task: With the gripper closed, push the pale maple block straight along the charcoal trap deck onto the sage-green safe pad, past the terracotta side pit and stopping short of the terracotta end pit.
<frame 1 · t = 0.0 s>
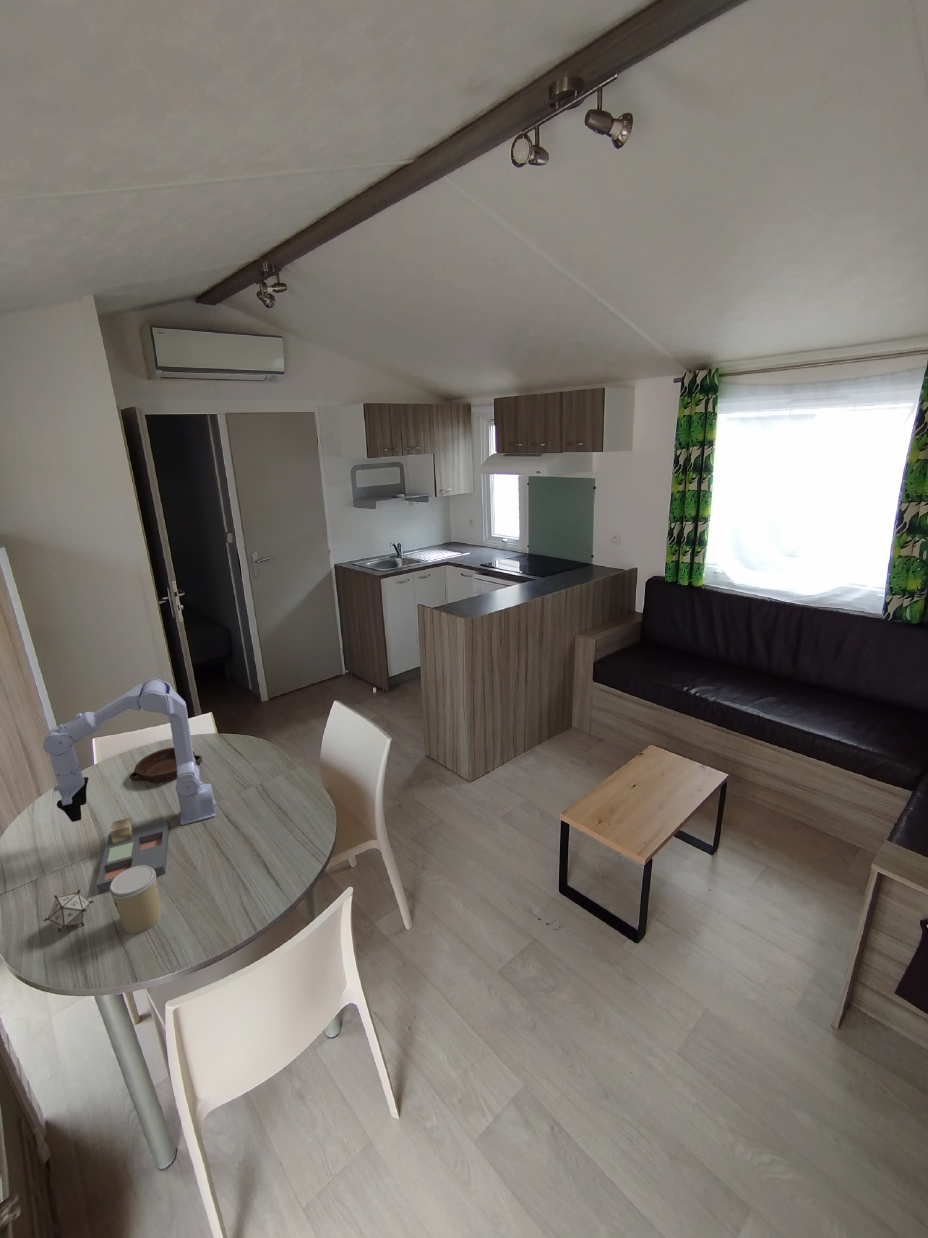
hand: (79, 812, 156), 10 cm above the table, tool pointing down, fingers open, 7 cm apart
game die: (73, 924, 132), on the table
trap deck: (136, 857, 153), on the table
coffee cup: (143, 920, 133), on the table
maple block: (123, 836, 157), point 2 cm above the table, touching trap deck
dish: (168, 773, 193), on the table
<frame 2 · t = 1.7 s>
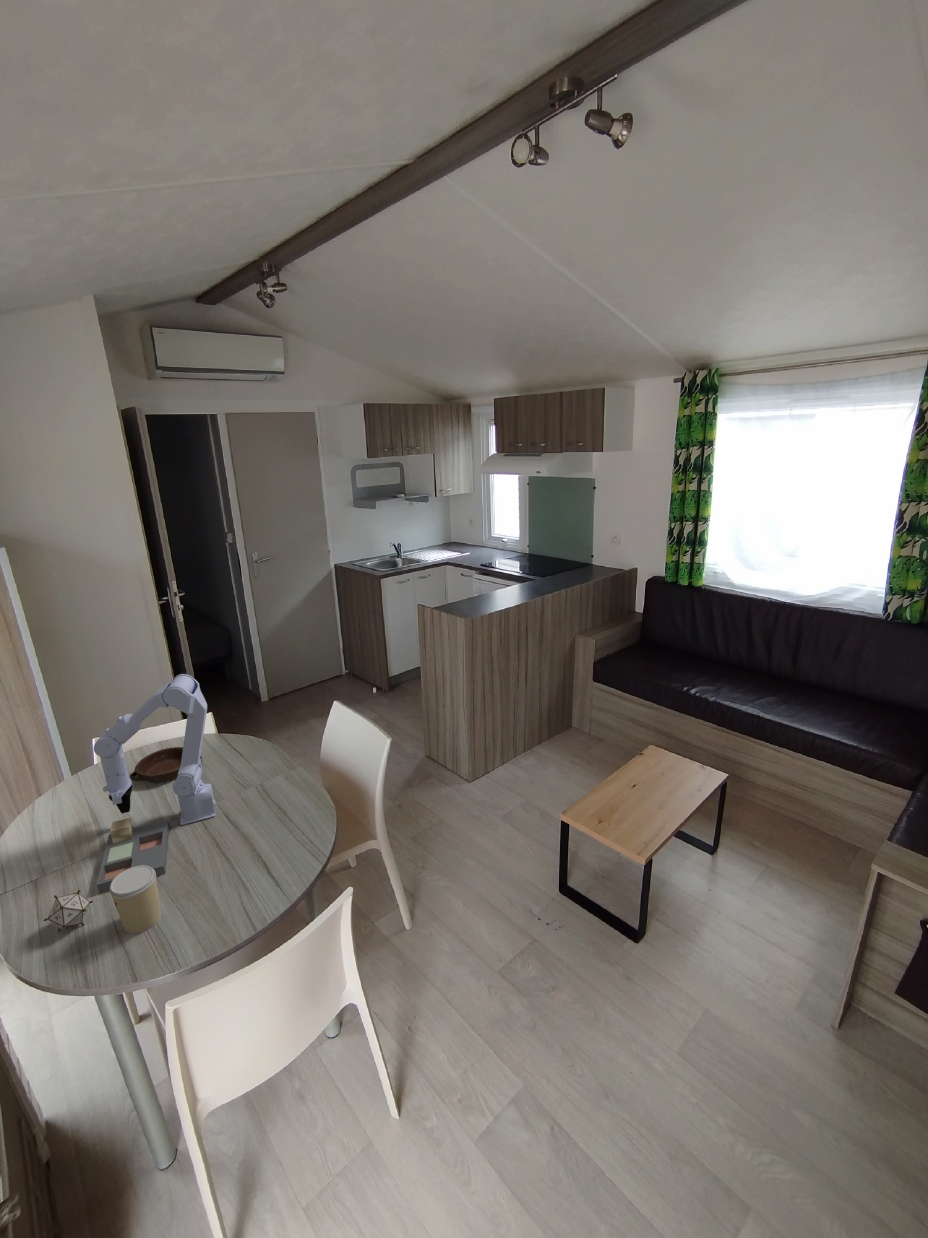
hand: (125, 811, 165), 4 cm above the table, tool pointing down, fingers closed
nothing on the table moved.
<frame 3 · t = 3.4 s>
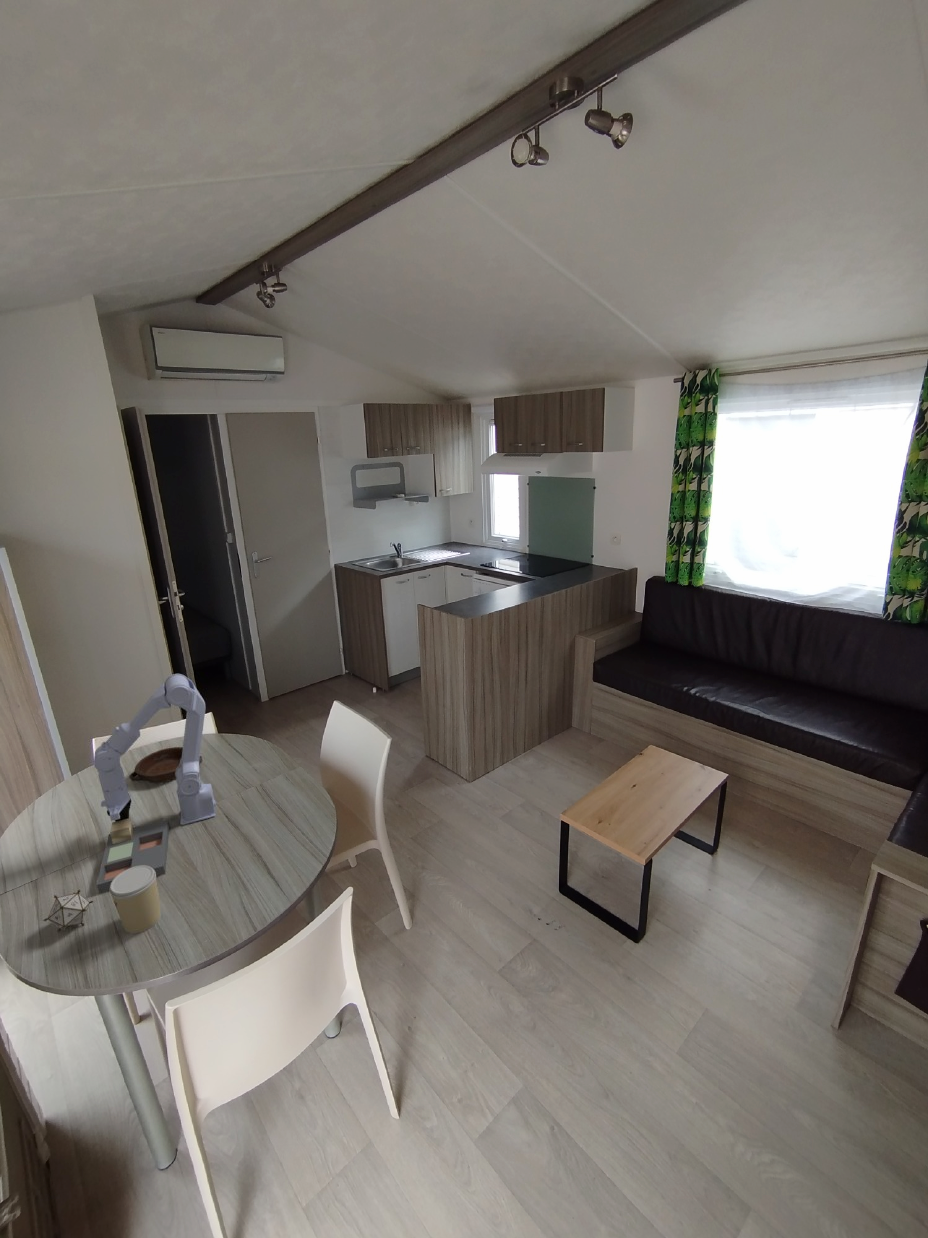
hand: (124, 826, 160), 3 cm above the table, tool pointing down, fingers closed
maple block: (123, 837, 157), point 3 cm above the table, touching gripper
everything else where it was.
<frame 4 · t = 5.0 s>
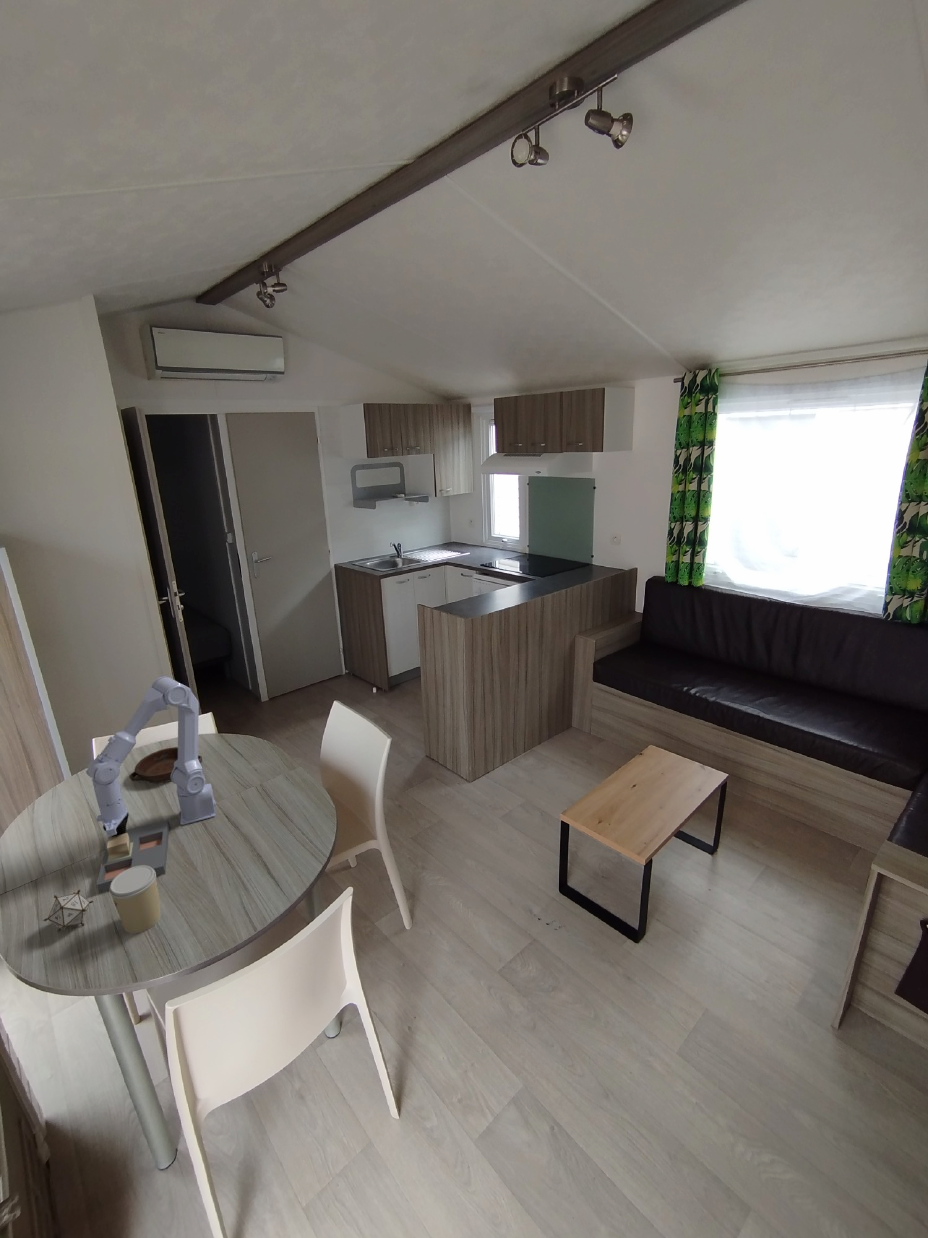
hand: (121, 842, 154), 3 cm above the table, tool pointing down, fingers closed
maple block: (120, 852, 151), point 3 cm above the table, touching gripper
everything else where it was.
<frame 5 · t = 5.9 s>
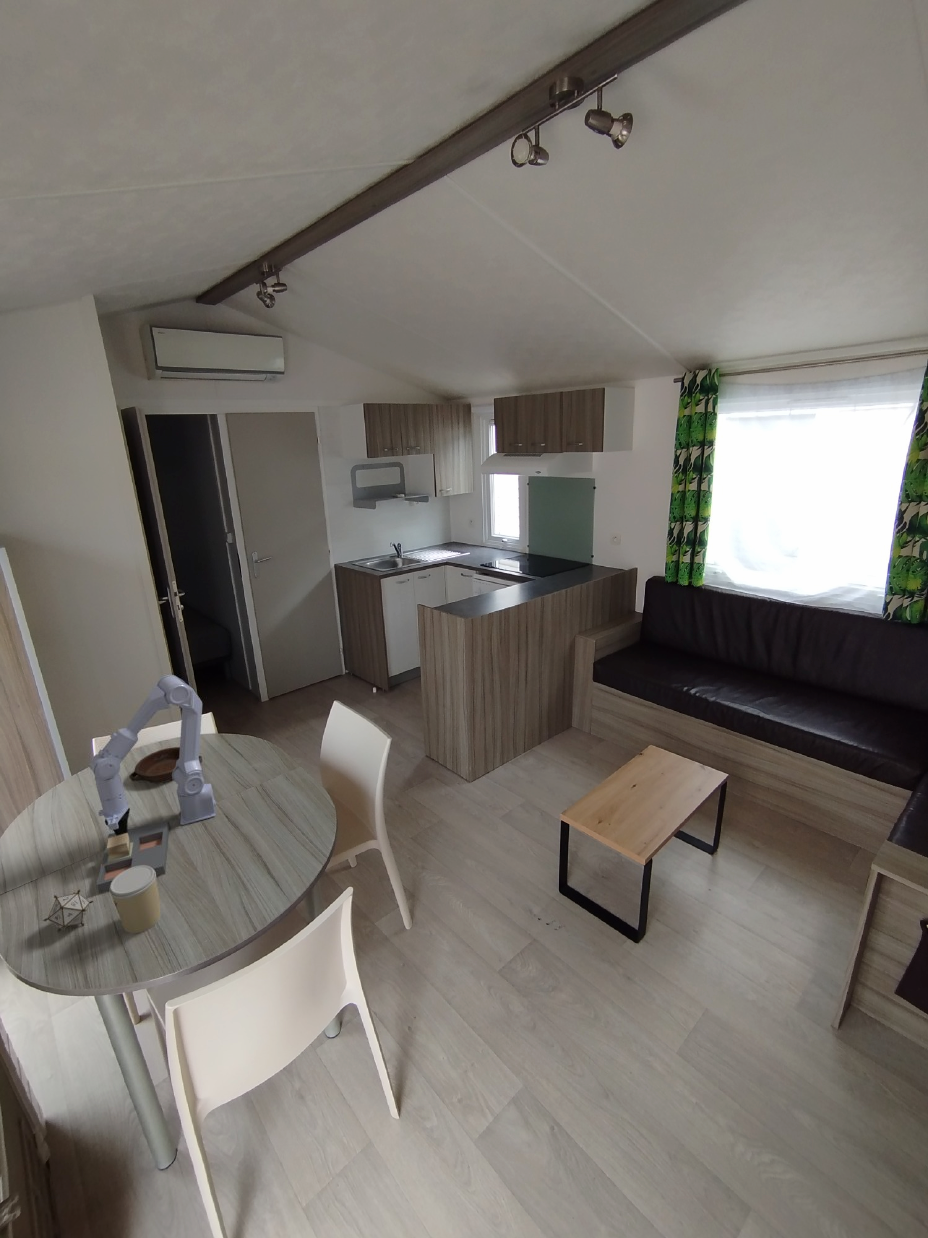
hand: (123, 836, 157), 3 cm above the table, tool pointing down, fingers closed
maple block: (120, 852, 151), point 3 cm above the table, touching trap deck
everything else where it was.
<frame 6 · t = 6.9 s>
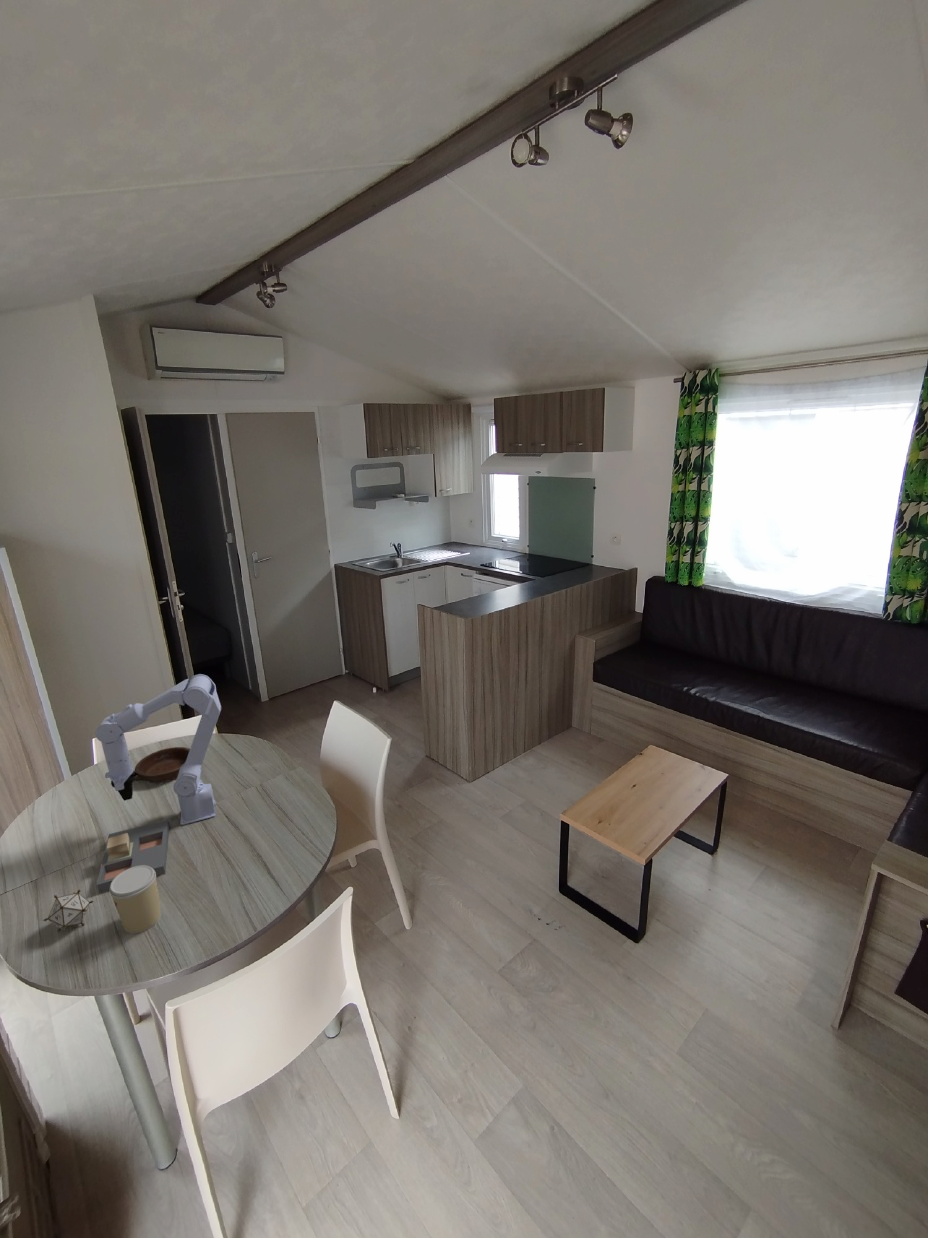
hand: (128, 798, 163), 9 cm above the table, tool pointing down, fingers closed
nothing on the table moved.
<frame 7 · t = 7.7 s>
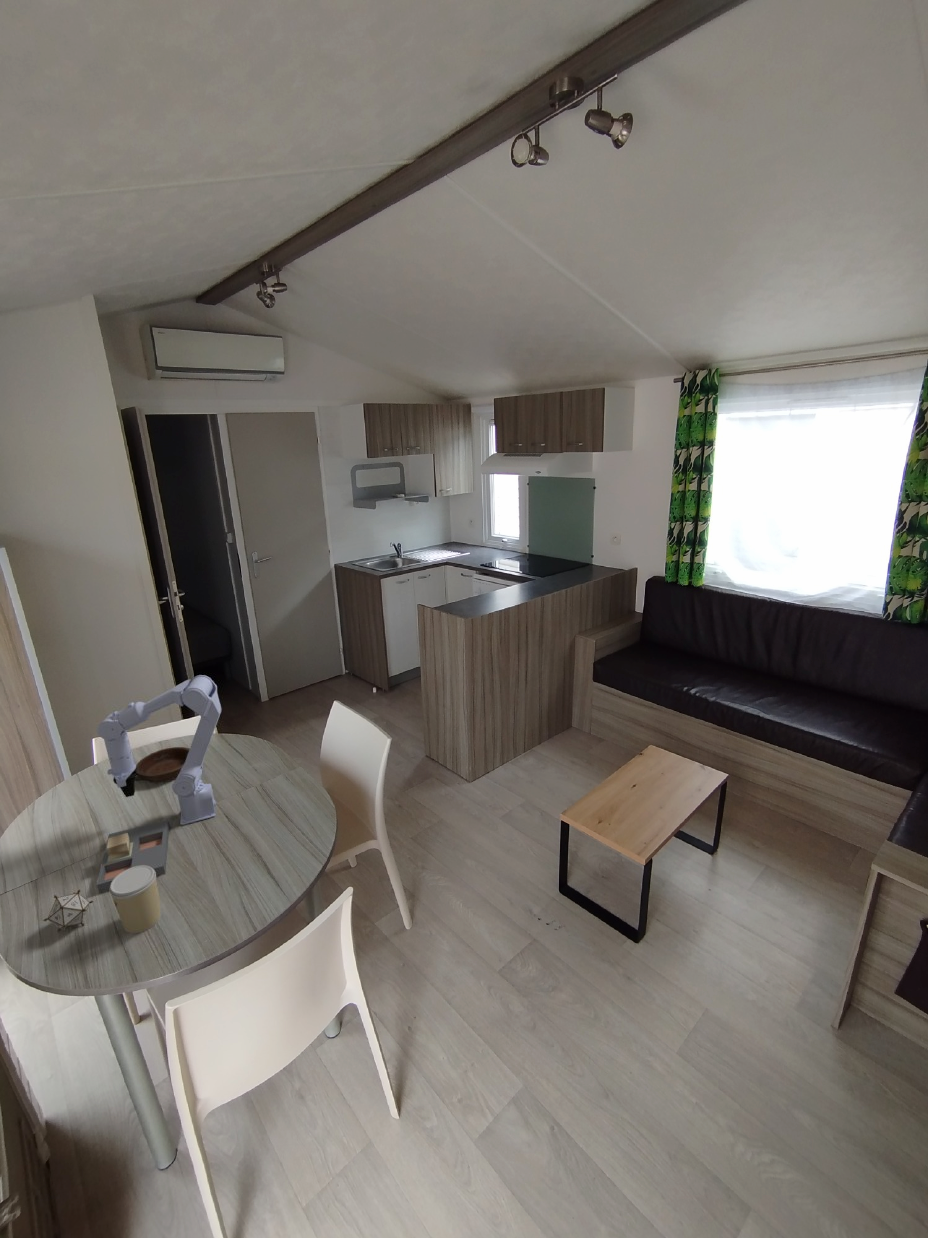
hand: (130, 795, 164), 9 cm above the table, tool pointing down, fingers closed
nothing on the table moved.
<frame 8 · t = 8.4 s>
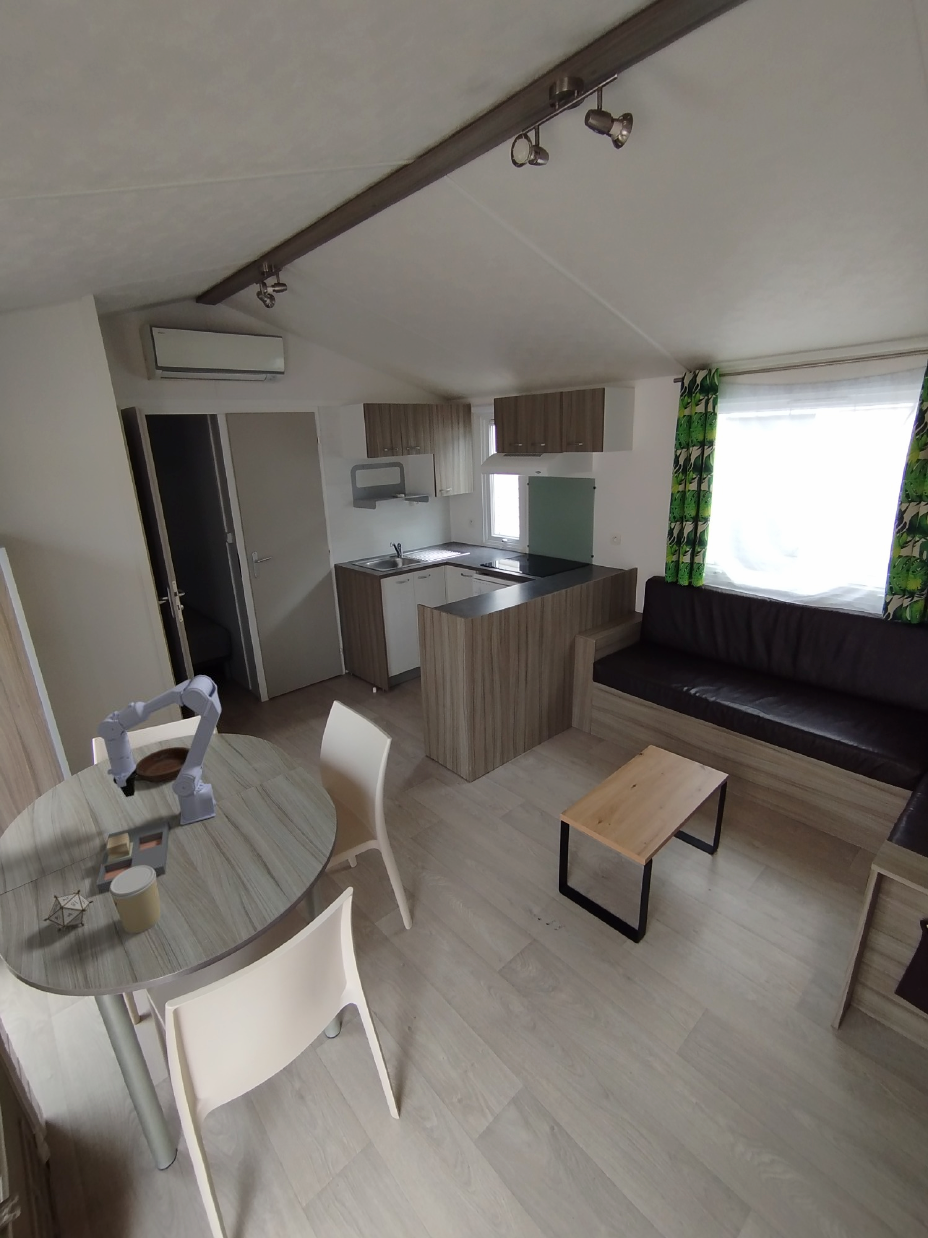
hand: (130, 795, 164), 9 cm above the table, tool pointing down, fingers closed
nothing on the table moved.
at the end: maple block 0.3 cm from the target spot on the trap deck, point 2.5 cm above the trap deck's base; maple block tilted 0°; maple block moved 7.3 cm from its start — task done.
